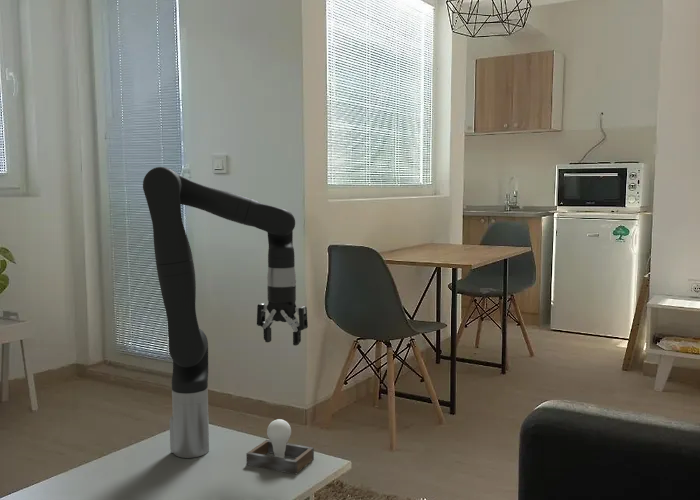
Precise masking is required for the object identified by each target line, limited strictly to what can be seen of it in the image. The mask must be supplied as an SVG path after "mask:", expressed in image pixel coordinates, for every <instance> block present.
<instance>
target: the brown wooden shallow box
mask: <svg viewBox="0 0 700 500" xmlns="http://www.w3.org/2000/svg"><path fill="white" fill-rule="evenodd" d="M268 453H269V454H274V452H273V446H272V443H271V441H270V439H265V440H263V442H261V443H259V444H258V445H256V446H255V447H254V448H252V449H251V450H249V451H247V452H246V453H245V454H246V466H250V467H256V468H262V469H267V470H272V471H277V472H283V473H286V474H287V473H288V474H292V475H296V474H298V473H299V472H300V471H302V469H304V468H305V467H306V466H307V465H309V464H310V463H311V462H312V461H313V460H314V458H315V457H314V456H315V449H314V447H311V446H305V445H299V444H295V443H289V442H287V444H286V450H285V456H284V458H279V457H274V456H273V455H267V454H268ZM285 457H291V458H295V459H289V458H285Z"/></svg>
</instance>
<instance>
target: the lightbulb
mask: <svg viewBox="0 0 700 500" xmlns="http://www.w3.org/2000/svg"><path fill="white" fill-rule="evenodd" d="M266 433H267V438H268V440H270V441H271V443H272V446H273V452H274V453H273V454H274V457H279V458H285V457H286V456H285V450H286V444H287V443H288V442H289V439H290V438H291V435H292V428H291V425H290V424H289V422H288V421H286V420H284V419H281V418H277V419H275V420H272V421H271V422H270V423H269V424H268V426H267V429H266Z"/></svg>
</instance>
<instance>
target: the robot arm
mask: <svg viewBox="0 0 700 500" xmlns="http://www.w3.org/2000/svg"><path fill="white" fill-rule="evenodd" d="M142 190H143V194H144V196H145V201H146V203H147V207H148V211H149V216H150V218H151V225H152V235H153V246H154V257H155V258H154V259H155V264H156V265H155V266H156V272H157V278H158V283H159V287H160V292H161V297H162V301H163V305H164V308H165V313H166V321H167V332H168V333H167V335H168V337H167V338H168V352H169V355H170V357H171V360H172V376H171V398H172V399H171V401H172V402H171V403H172V404H171V405H172V415H171V416H170V417H169V447H170V450H169V451H170V454H171V453H173V455H174V456H176V457H178V458H183V459H185V458H186V459H188V458H189V459H190V458H197V457H198V458H199V457H201V456H204V455H207V454H208V453H209V451H210V427H209V426H210V425H209V392H208V389H209V388H208V387H209V342H208V341H209V340H208V337H207V334H206V333H205V332H204V331H203V329H201V328H200V326H199V322H198V317H197V311H196V299H197V298H196V297H197V296H196V293H197V292H196V285H197V283H196V282H197V280H196V272H195V271H196V270H195V266H194V265H195V264H194V258H193V253H192V248H191V245H190V242H189V238H188V235H187V232H186V229H185V227H184V226H185V225H184V223H183V217H182V209H181V208H182V207H181V205H183V206H187V207H191V208H196V209H199V210H201V211H204V212H206V213H209V214H211V215H215V216H217V217H219V218H222V219H225V220H227V221H229V222H230V221H231V222H234V223H238V224H241V225H244V226H249V227H254V228H256V229H259V230H262V231H264V232H266V233H267V240H268V249H267V250H268V252H267V264H268V265H267V277H266V279H267V301H268V303H266V302H262V303H259V304H257V307H256V309H257V310H256V312H257V313H256V326H258V327H259V326H260V327H261V328H263V340H264V341H265V343H270V342H272V325H273V323H275V322H282V323H287V324H288V325H289V326H290V328H292V330H293V332H292V345H293V346H296V347H297V346H298V345H299V344H300V343H301V341H302V331H304V330H306V329H308V310H307V306H304V305H303V306H297V305H296V300H297V292H296V291H297V289H296V288H297V285H296V284H297V279H296V267H295V263H296V262H295V259H296V258H295V248H294V246H293V241H294V240H293V237H294V235H293V233H294V232H293V231H294V229H295V227H296V219H295V216H294V215H293V213H292V212H290V210H287V209H285V208H282V207H281V208H280V207H277V206H272V205H271V204H270V205H269V204H265V203H261V202H259V201H258V200H256V199H252V198H249V197H246V196H243V195H240V194H237V193H233V192H229V191H226V190H222V189H217V188H213V187H209V186H206V185H203V184H201V183H198V182H195V181H192V180H190V179H188V178H187V177H184V176H182V175H180V174H178V173H177V172H176V171H174V170H173V169H170V167H169V168H168V167H165V166H164V167H163V166H157V167H154V168H152V169H150V170H148V172H147V173H146V174H145V176H144V178H143V180H142ZM267 311H268V313H269V315H268V316H267V317H266V312H267ZM296 313H297V315H298V317H297V316H296Z"/></svg>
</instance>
